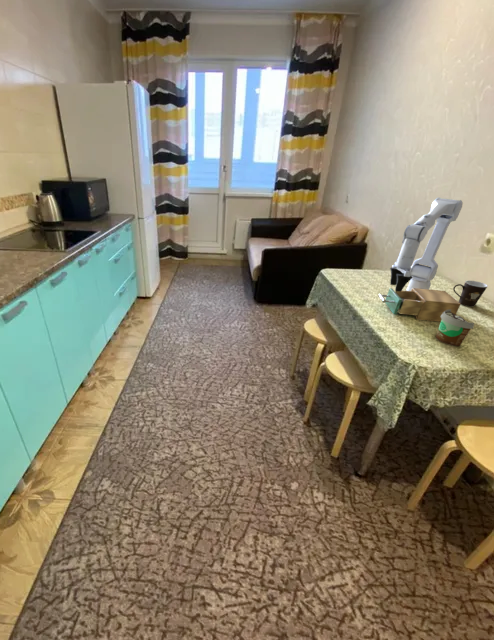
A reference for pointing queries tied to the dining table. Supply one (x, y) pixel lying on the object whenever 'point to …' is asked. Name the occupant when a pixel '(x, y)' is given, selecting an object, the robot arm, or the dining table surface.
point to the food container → (453, 329)
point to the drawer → (409, 305)
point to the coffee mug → (471, 292)
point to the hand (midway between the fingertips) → (395, 287)
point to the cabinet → (435, 304)
